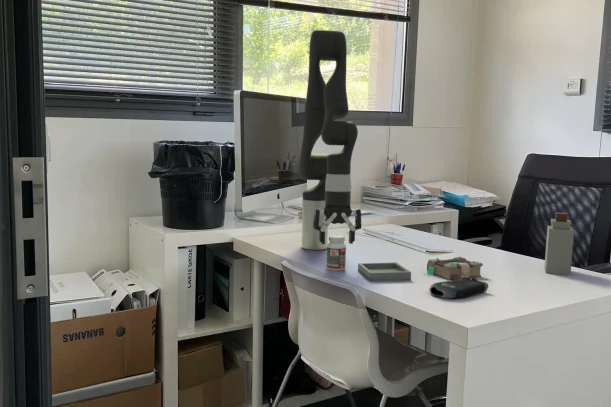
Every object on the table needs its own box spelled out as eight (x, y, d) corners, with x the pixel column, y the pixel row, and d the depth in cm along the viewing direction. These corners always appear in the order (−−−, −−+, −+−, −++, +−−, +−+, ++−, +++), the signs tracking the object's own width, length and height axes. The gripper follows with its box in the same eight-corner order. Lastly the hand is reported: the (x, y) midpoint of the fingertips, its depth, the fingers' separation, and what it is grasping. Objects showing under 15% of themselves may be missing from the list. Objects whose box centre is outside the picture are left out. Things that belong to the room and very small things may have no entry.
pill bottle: (343, 271, 169) (344, 238, 168) (324, 270, 170) (325, 237, 169) (346, 267, 175) (347, 235, 173) (328, 266, 176) (328, 234, 174)
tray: (357, 270, 170) (358, 263, 170) (396, 269, 173) (396, 262, 172) (369, 281, 159) (370, 273, 158) (410, 280, 161) (411, 272, 161)
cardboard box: (438, 285, 158) (438, 267, 157) (411, 274, 169) (412, 258, 168) (492, 278, 166) (493, 261, 166) (463, 269, 177) (464, 253, 177)
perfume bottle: (568, 270, 177) (572, 212, 175) (570, 275, 171) (575, 215, 169) (544, 268, 179) (548, 211, 177) (545, 273, 173) (550, 213, 171)
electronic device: (457, 290, 157) (421, 291, 148) (462, 271, 156) (426, 271, 147) (485, 303, 150) (449, 305, 141) (490, 283, 149) (455, 283, 140)
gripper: (357, 188, 174) (356, 241, 176) (311, 188, 172) (310, 241, 173) (365, 190, 167) (363, 245, 169) (317, 190, 164) (315, 246, 166)
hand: (336, 243), depth 171 cm, fingers open, 8 cm apart
